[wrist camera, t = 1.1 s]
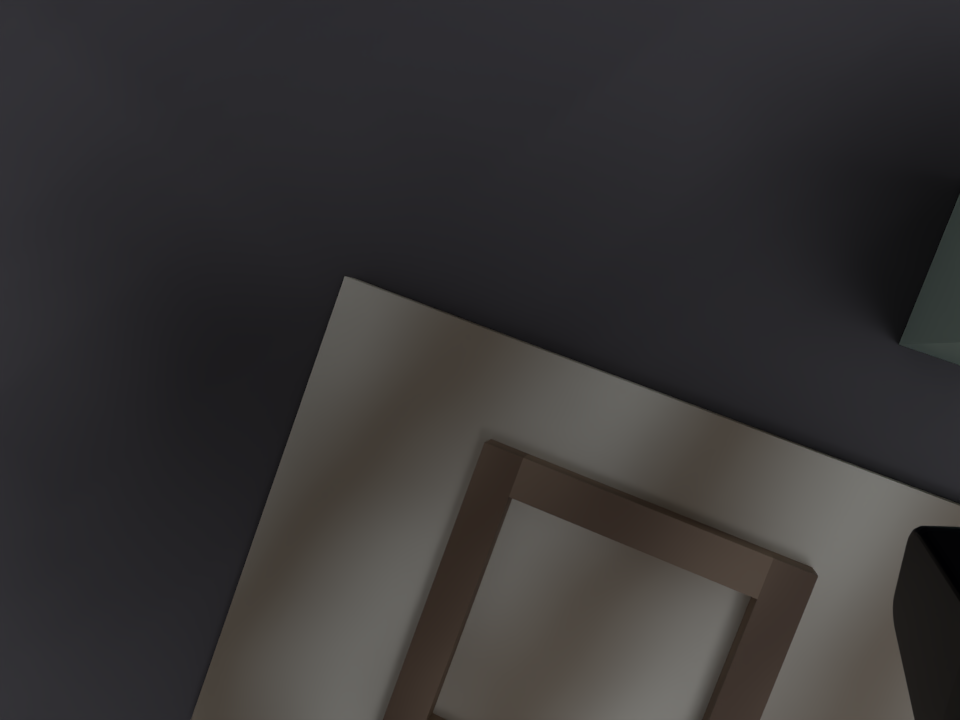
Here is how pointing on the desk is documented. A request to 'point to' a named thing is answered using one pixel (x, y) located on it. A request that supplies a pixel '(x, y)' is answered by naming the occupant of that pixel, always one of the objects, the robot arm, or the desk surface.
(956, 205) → the pillar block
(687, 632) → the beige flat board
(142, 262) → the desk surface
